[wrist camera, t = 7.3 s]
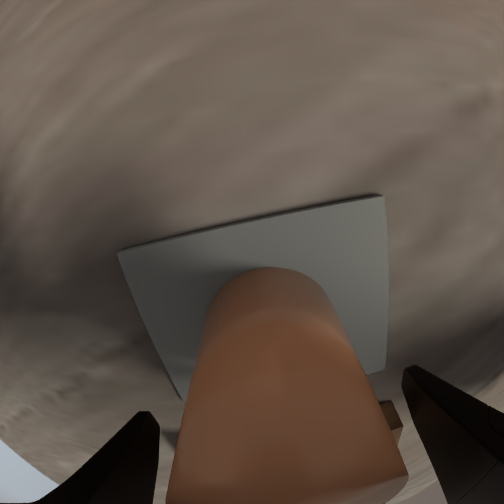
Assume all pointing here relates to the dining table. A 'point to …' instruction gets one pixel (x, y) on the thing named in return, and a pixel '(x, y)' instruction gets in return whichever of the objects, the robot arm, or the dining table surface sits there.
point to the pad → (261, 256)
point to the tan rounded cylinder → (281, 404)
